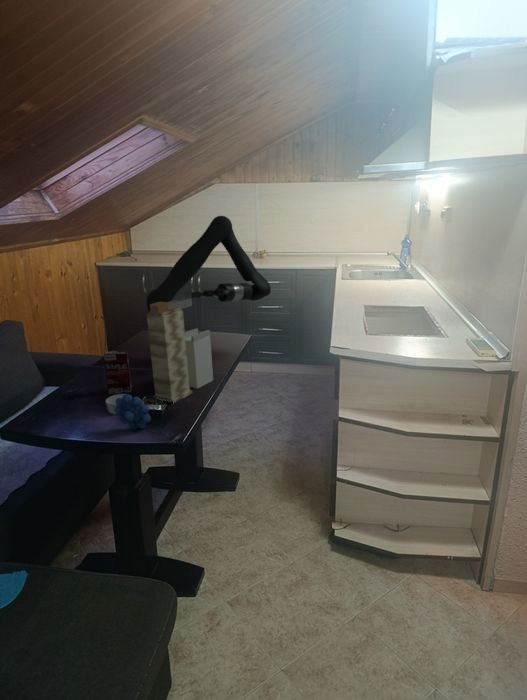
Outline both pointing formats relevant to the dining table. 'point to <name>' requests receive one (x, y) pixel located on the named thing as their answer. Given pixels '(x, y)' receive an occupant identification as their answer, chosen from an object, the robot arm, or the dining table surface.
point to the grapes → (132, 411)
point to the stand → (169, 354)
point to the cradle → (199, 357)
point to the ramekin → (113, 402)
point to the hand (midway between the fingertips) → (197, 294)
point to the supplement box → (117, 371)
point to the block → (169, 305)
